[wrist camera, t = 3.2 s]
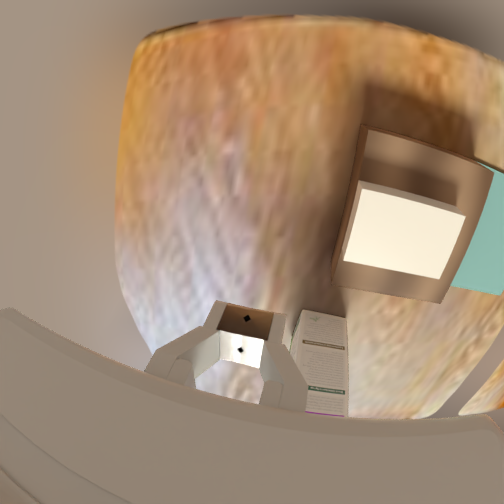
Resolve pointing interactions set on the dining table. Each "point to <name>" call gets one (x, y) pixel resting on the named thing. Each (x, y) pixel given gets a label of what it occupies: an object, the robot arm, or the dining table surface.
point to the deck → (420, 183)
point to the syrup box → (322, 361)
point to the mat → (486, 245)
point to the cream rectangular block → (401, 231)
